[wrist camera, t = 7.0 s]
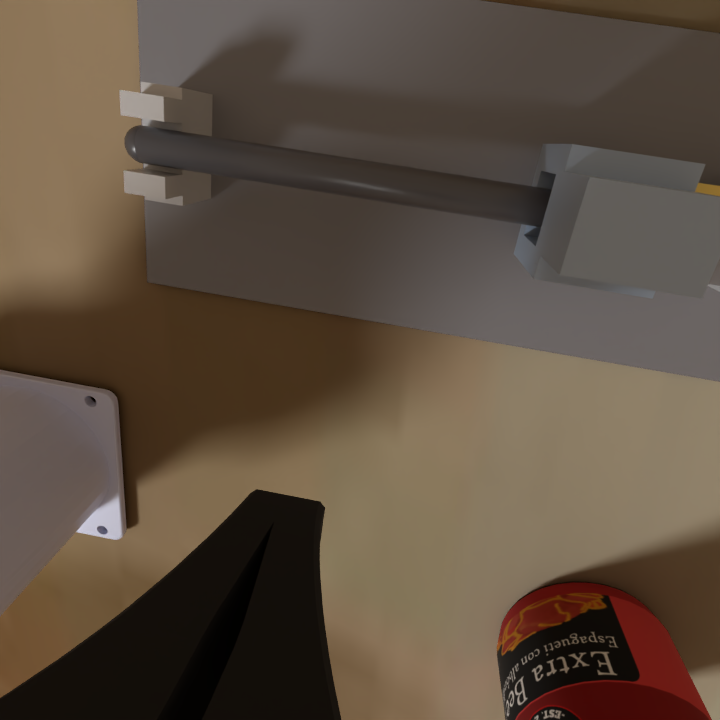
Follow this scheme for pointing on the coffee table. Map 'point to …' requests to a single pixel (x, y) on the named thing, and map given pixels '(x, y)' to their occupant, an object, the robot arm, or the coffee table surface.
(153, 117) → the linear slide rail
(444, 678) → the coffee table surface
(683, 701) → the canned food
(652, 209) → the sleeve
